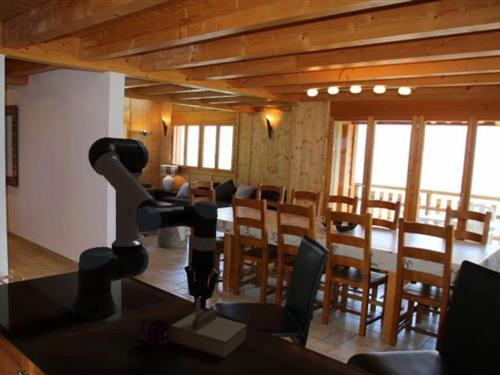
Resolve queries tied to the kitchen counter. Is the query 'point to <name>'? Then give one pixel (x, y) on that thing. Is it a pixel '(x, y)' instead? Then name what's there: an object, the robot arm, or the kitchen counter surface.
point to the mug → (157, 333)
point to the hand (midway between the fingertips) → (199, 317)
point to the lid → (210, 326)
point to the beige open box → (207, 342)
